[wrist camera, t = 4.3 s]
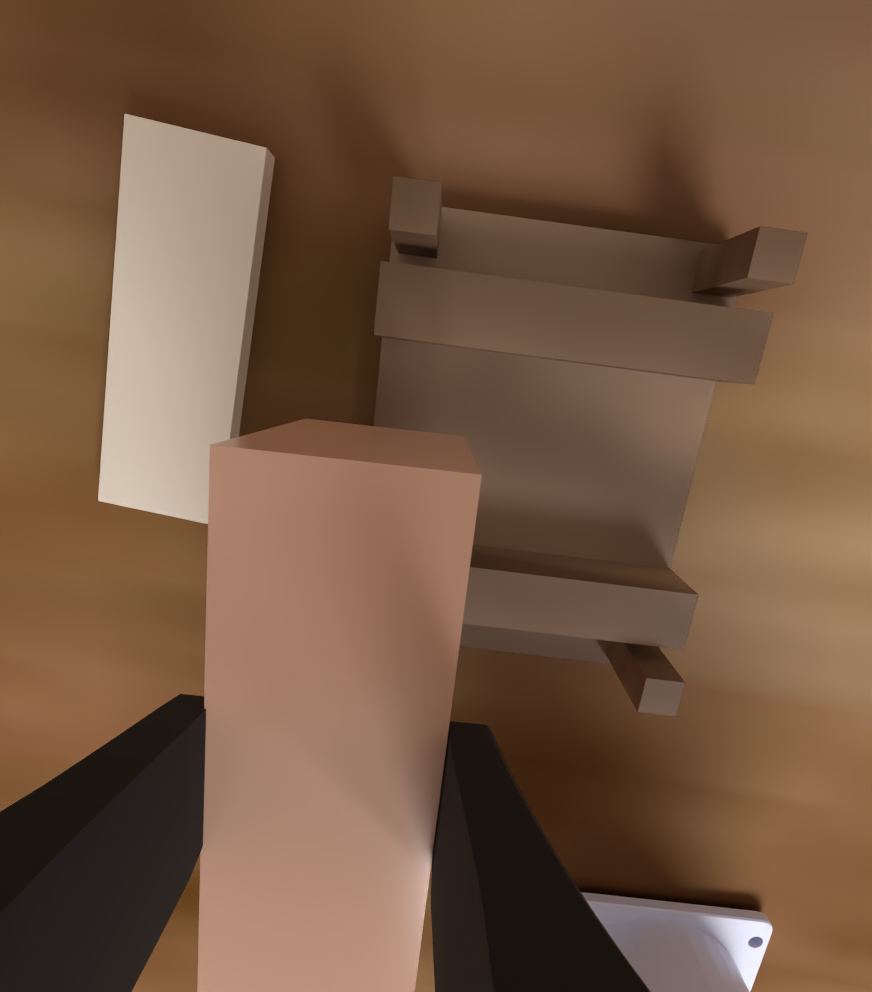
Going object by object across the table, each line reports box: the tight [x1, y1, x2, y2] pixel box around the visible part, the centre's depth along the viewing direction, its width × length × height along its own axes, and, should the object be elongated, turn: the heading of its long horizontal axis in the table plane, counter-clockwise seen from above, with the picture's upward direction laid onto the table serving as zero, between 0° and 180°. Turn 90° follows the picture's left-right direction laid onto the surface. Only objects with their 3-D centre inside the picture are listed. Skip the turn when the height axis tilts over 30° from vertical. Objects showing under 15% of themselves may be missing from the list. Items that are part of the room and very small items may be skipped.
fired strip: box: [98, 114, 275, 524], centre depth 15 cm, size 10×4×1 cm, turn 168°
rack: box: [373, 176, 808, 716], centre depth 14 cm, size 12×9×3 cm
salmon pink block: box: [197, 419, 482, 992], centre depth 10 cm, size 10×4×5 cm, turn 174°
